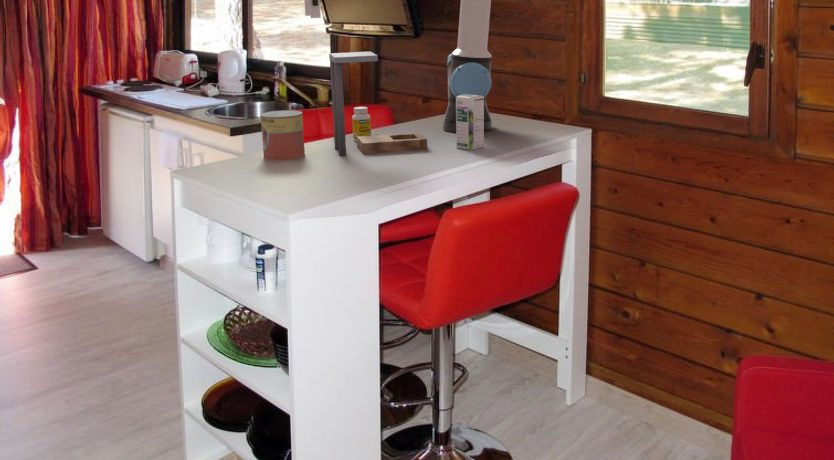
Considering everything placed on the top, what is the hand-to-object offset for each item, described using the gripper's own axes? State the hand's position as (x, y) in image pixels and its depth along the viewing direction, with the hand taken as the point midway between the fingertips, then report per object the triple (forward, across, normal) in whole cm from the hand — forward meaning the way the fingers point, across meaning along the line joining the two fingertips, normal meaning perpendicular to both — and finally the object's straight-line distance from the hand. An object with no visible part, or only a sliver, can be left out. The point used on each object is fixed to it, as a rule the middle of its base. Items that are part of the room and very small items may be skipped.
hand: (312, 16), depth 264 cm
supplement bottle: (+36, +3, +12) cm, 38 cm away
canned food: (+36, +20, -12) cm, 43 cm away
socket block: (+36, +18, +18) cm, 44 cm away
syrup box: (+36, +25, +39) cm, 59 cm away
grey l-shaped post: (+36, +18, +8) cm, 41 cm away
